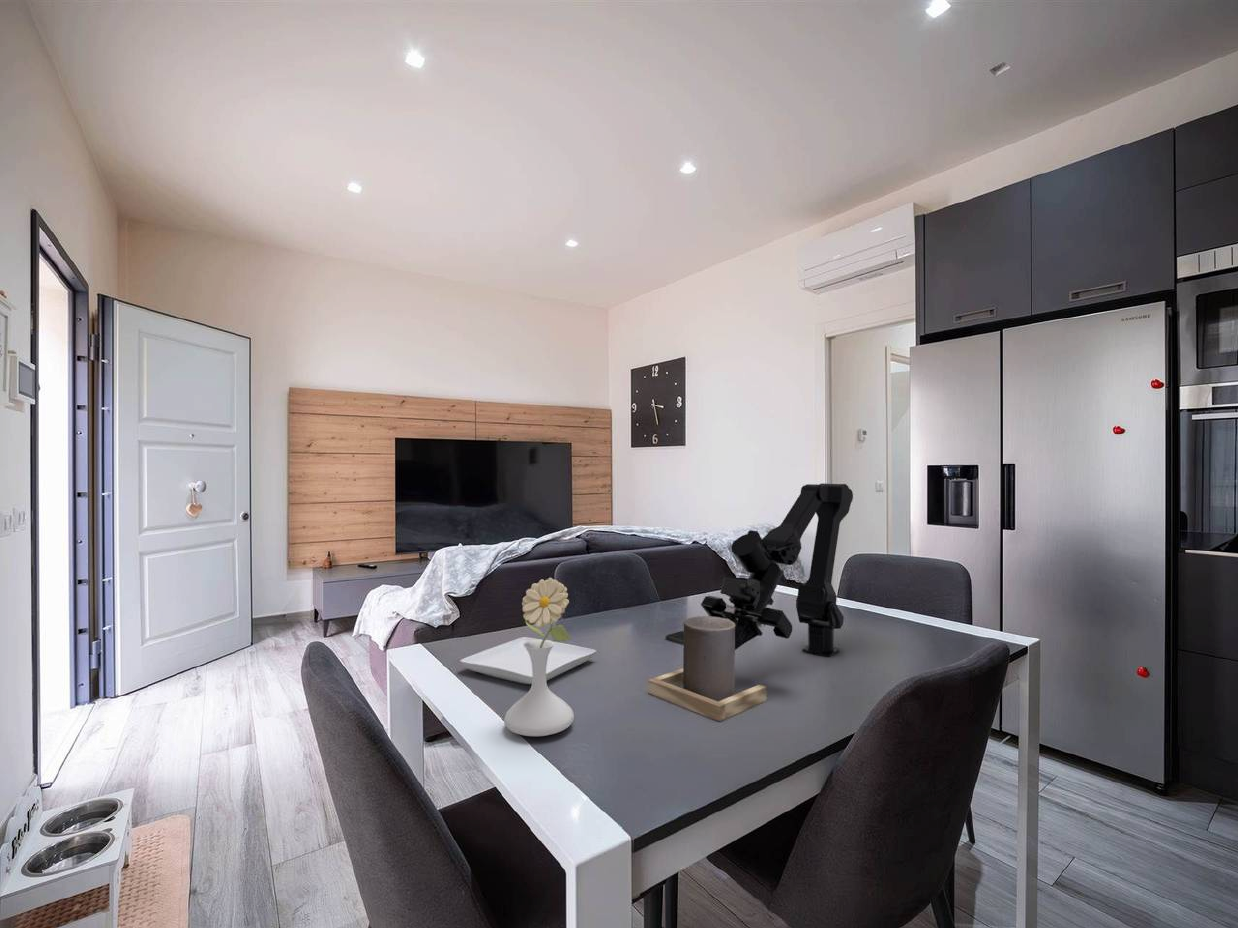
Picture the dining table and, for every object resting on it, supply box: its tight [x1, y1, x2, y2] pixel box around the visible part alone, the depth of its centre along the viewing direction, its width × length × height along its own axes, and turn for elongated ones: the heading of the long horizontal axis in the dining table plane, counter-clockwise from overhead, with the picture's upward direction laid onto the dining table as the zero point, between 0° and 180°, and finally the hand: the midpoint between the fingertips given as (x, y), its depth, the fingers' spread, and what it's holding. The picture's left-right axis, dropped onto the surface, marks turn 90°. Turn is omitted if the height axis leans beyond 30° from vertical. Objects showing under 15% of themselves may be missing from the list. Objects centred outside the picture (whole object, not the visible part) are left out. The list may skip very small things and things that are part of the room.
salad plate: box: [459, 636, 597, 685], centre depth 127 cm, size 21×21×3 cm
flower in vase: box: [503, 577, 575, 737], centre depth 98 cm, size 13×11×25 cm
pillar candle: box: [682, 614, 736, 702], centre depth 112 cm, size 10×10×15 cm
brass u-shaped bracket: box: [647, 668, 767, 722], centre depth 111 cm, size 14×17×2 cm
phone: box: [665, 630, 684, 646], centre depth 145 cm, size 8×1×15 cm
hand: (726, 652), depth 115 cm, fingers closed
